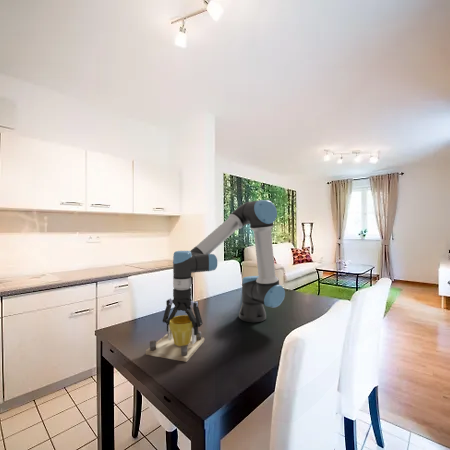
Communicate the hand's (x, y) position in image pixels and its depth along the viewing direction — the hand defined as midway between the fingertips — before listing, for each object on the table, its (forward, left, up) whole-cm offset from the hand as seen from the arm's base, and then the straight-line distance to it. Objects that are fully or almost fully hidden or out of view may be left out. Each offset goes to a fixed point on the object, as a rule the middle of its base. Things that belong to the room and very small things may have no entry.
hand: (182, 340), depth 106 cm
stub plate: (+3, 0, -3) cm, 4 cm away
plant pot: (0, 0, -1) cm, 1 cm away
